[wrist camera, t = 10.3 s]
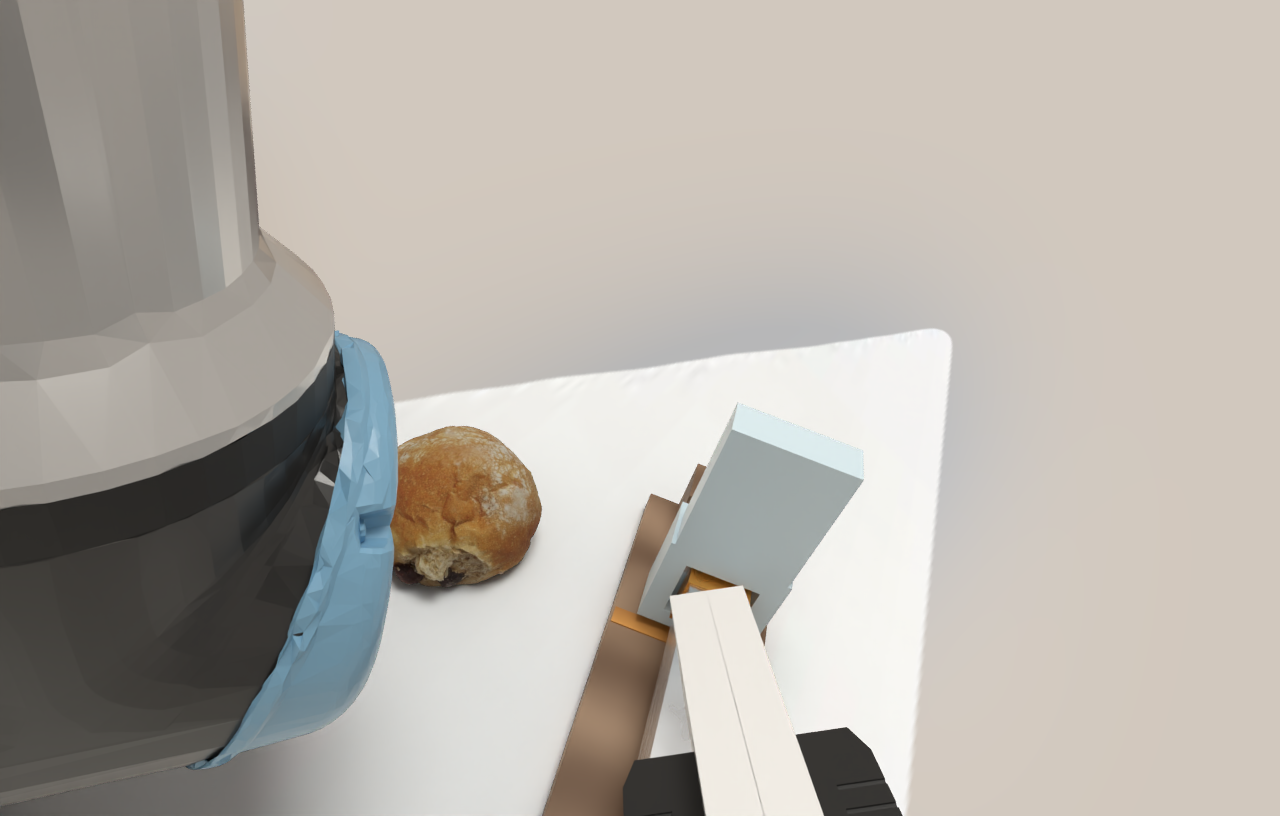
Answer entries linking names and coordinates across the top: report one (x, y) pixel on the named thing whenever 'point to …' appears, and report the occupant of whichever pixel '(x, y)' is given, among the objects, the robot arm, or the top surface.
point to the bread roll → (461, 508)
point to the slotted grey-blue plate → (756, 512)
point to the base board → (618, 683)
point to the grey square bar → (674, 684)
